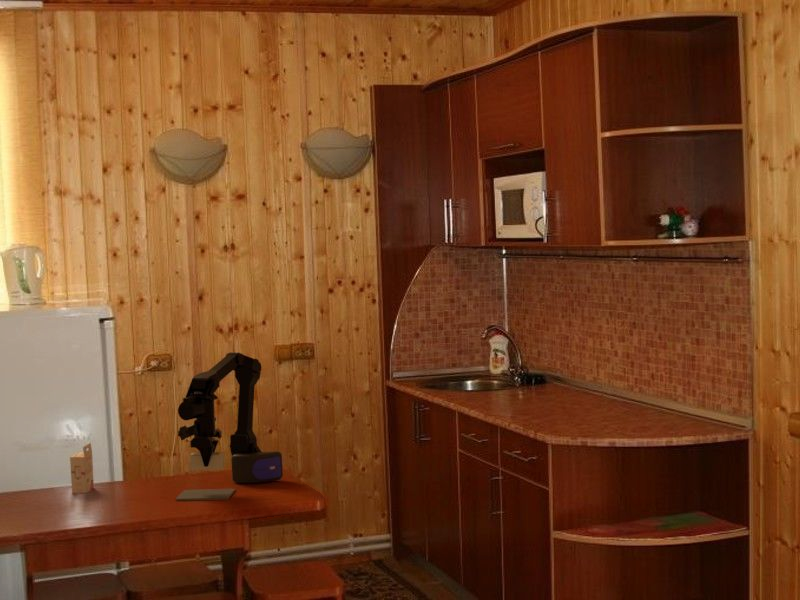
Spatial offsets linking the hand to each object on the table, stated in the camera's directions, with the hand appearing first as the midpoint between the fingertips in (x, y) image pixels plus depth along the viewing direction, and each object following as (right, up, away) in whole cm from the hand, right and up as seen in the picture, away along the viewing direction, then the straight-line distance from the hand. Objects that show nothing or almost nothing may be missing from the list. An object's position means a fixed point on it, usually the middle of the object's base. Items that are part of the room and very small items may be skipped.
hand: (207, 465), depth 369 cm
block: (0, -1, 0) cm, 1 cm away
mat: (0, -9, -3) cm, 9 cm away
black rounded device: (+14, -8, +16) cm, 22 cm away
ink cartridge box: (-41, -10, +10) cm, 44 cm away
